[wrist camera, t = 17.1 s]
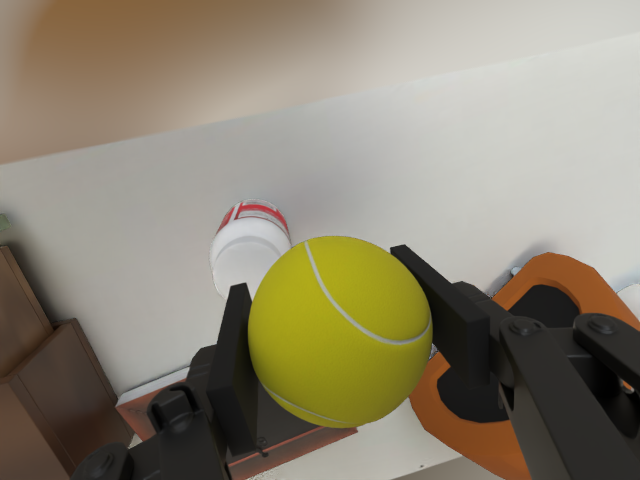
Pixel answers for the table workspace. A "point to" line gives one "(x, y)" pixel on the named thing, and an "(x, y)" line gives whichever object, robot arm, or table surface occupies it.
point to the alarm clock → (483, 403)
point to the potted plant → (631, 298)
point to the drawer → (17, 312)
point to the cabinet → (57, 409)
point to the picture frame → (272, 428)
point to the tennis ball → (339, 332)
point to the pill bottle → (247, 245)
